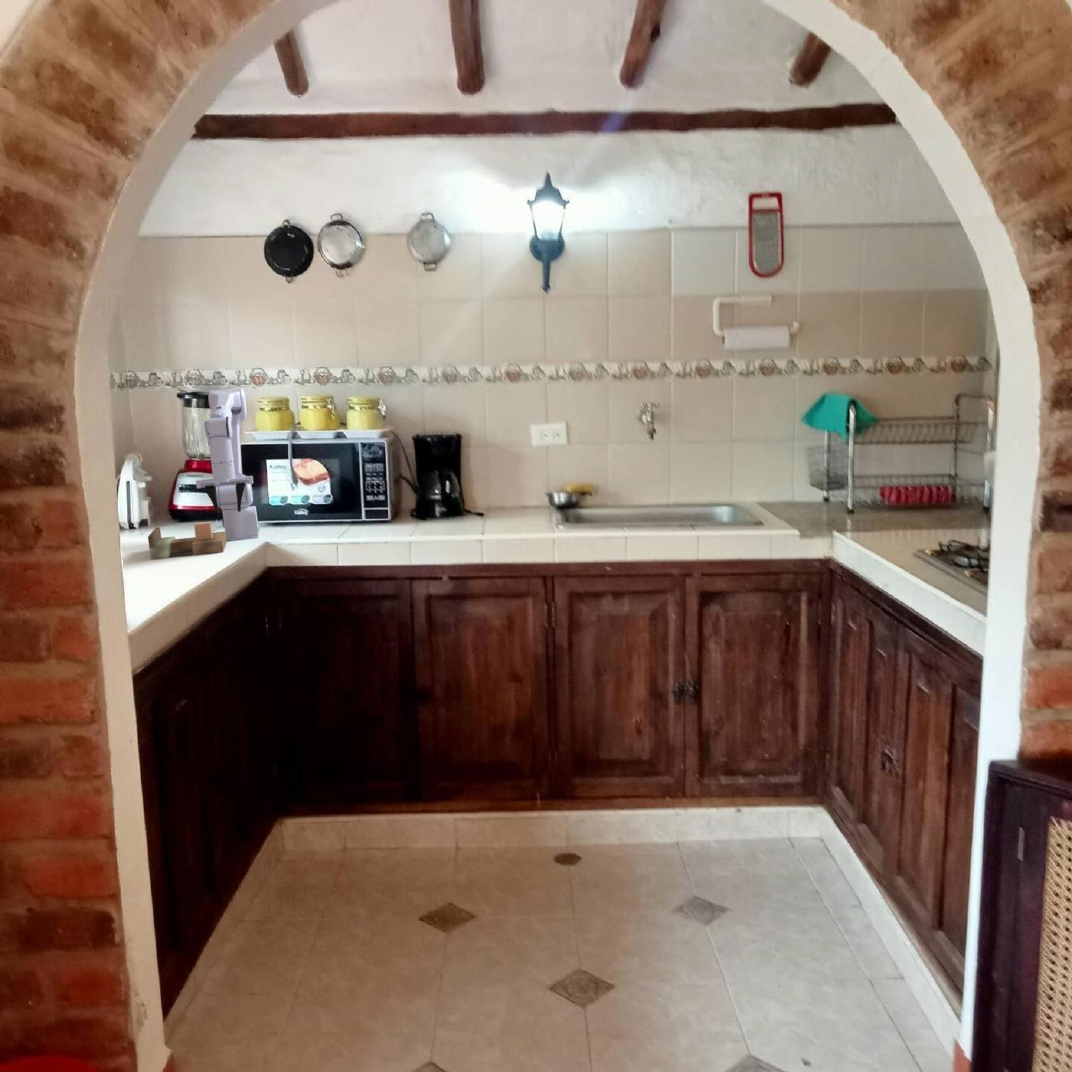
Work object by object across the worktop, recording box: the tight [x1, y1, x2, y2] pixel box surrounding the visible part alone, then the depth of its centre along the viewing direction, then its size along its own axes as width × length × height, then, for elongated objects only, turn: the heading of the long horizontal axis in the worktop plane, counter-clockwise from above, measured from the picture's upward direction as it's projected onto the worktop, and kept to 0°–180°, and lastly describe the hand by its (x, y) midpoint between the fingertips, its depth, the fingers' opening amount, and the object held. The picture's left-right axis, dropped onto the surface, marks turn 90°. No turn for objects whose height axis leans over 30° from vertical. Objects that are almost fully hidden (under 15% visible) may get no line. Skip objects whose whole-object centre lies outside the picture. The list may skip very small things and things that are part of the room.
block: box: [193, 521, 213, 540], centre depth 255 cm, size 4×4×4 cm
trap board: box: [147, 526, 228, 560], centre depth 254 cm, size 18×16×6 cm
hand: (228, 512), depth 256 cm, fingers open, 5 cm apart
